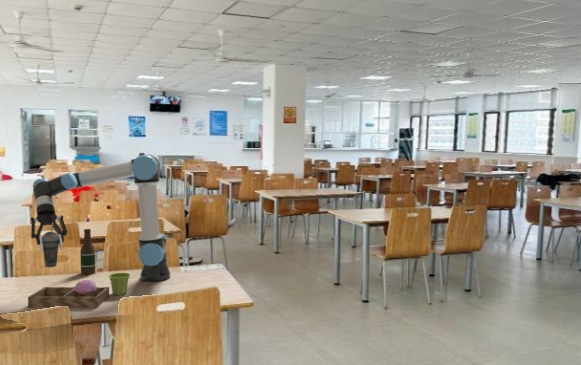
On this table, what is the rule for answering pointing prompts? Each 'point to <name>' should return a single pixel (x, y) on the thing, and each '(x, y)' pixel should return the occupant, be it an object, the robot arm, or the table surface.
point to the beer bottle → (87, 254)
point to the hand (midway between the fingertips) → (51, 248)
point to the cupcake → (85, 288)
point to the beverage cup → (50, 248)
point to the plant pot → (119, 282)
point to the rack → (66, 298)
